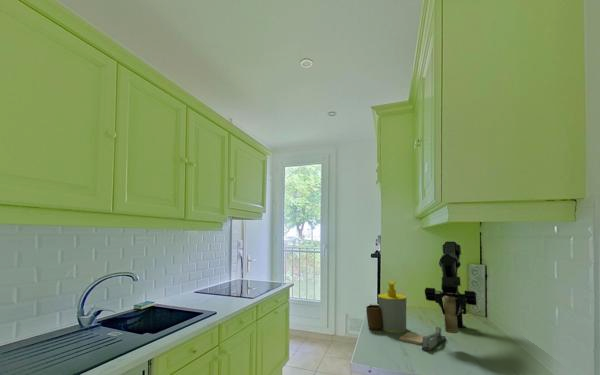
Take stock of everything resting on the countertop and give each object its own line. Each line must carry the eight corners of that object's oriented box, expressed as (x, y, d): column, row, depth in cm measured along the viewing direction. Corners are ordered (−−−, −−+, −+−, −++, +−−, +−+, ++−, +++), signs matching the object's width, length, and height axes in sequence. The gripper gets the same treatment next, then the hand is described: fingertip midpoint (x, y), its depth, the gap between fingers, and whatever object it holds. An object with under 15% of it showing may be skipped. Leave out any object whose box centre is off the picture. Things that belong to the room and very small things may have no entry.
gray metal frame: (437, 337, 131) (437, 326, 132) (446, 339, 129) (445, 327, 129) (422, 350, 117) (421, 337, 117) (431, 352, 115) (430, 339, 115)
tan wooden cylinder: (443, 329, 122) (441, 295, 123) (455, 329, 121) (452, 295, 123) (448, 333, 117) (445, 298, 119) (460, 333, 117) (457, 298, 119)
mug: (364, 323, 152) (362, 303, 153) (379, 322, 152) (377, 302, 153) (370, 330, 140) (368, 309, 141) (386, 329, 140) (384, 307, 142)
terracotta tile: (407, 334, 134) (407, 332, 135) (429, 339, 129) (428, 336, 129) (399, 340, 128) (399, 337, 128) (421, 345, 122) (421, 342, 122)
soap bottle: (380, 332, 138) (378, 283, 141) (378, 323, 151) (376, 279, 154) (410, 333, 136) (407, 284, 139) (405, 325, 148) (403, 280, 151)
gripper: (423, 267, 131) (421, 299, 119) (473, 270, 122) (476, 305, 110) (427, 284, 136) (425, 316, 125) (475, 287, 127) (478, 322, 116)
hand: (450, 314), depth 119 cm, fingers closed on tan wooden cylinder, 4 cm apart
